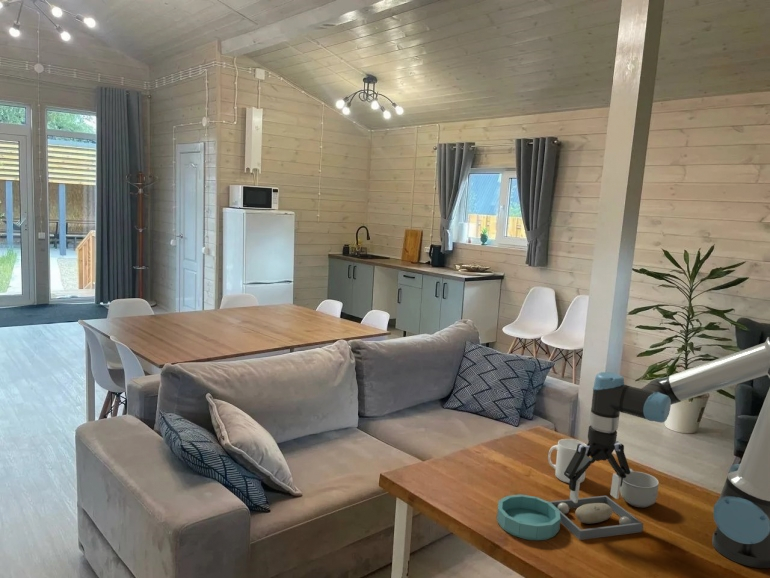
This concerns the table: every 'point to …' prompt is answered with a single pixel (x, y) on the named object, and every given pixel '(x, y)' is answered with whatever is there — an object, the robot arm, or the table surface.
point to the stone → (593, 513)
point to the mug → (565, 457)
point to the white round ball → (563, 508)
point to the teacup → (639, 489)
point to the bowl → (528, 517)
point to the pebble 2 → (624, 520)
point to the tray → (601, 531)
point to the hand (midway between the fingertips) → (594, 498)
